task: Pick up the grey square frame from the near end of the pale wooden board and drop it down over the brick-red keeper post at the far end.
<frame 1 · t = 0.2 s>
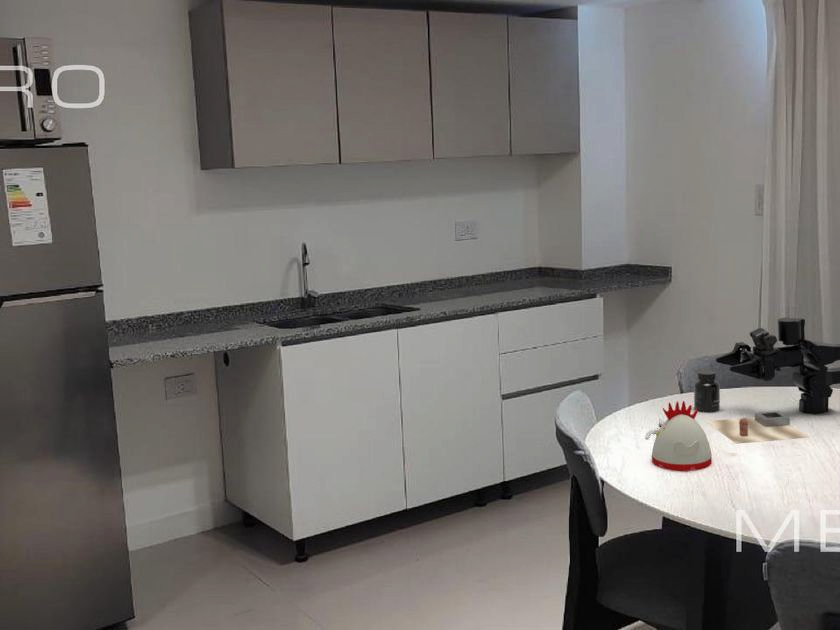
hand: (723, 364, 254), 16 cm above the table, tool horizontal, fingers open, 9 cm apart
grey square frame: (772, 422, 250), point 1 cm above the table, touching keeper board
kitchen timer: (681, 462, 230), on the table
keeper board: (756, 434, 246), on the table
pliers: (665, 433, 254), on the table
supplement bottle: (707, 415, 267), on the table
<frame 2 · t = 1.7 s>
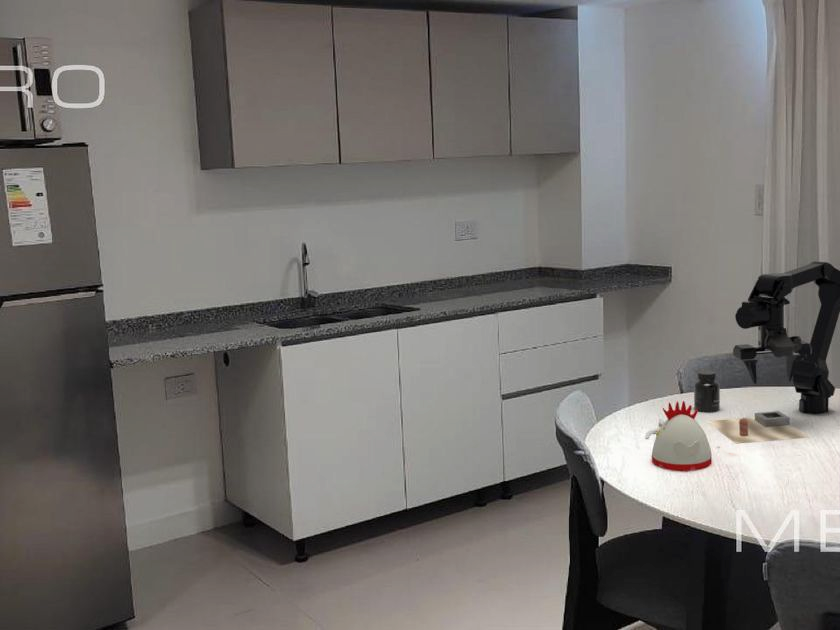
hand: (772, 382, 248), 12 cm above the table, tool pointing down, fingers open, 9 cm apart
nothing on the table moved.
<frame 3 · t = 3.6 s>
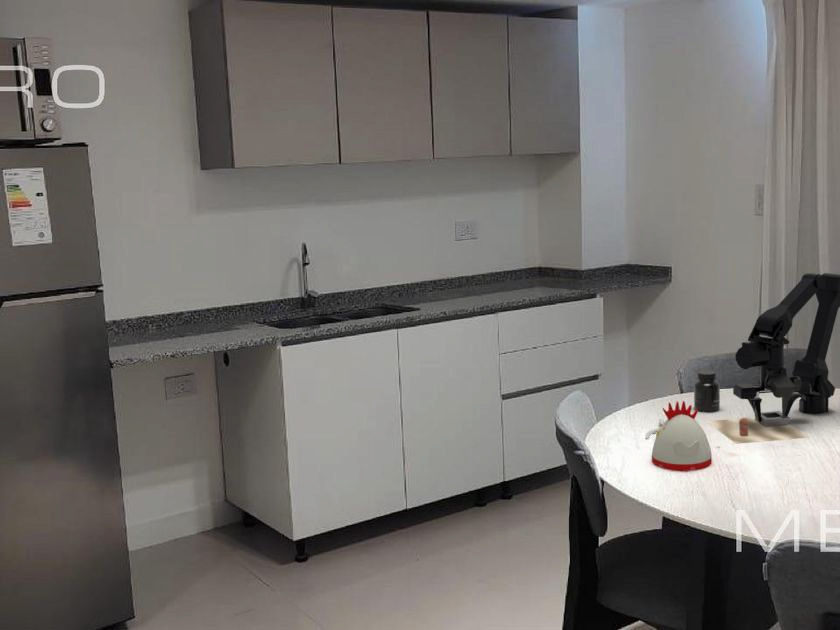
hand: (771, 420, 250), 2 cm above the table, tool pointing down, fingers closed on grey square frame, 6 cm apart
grey square frame: (772, 422, 250), point 2 cm above the table, touching gripper, keeper board
everything else where it was.
when the fingers open (4 cm above the table, at t = 8.0 s): grey square frame drops 2 cm, resting on keeper board.
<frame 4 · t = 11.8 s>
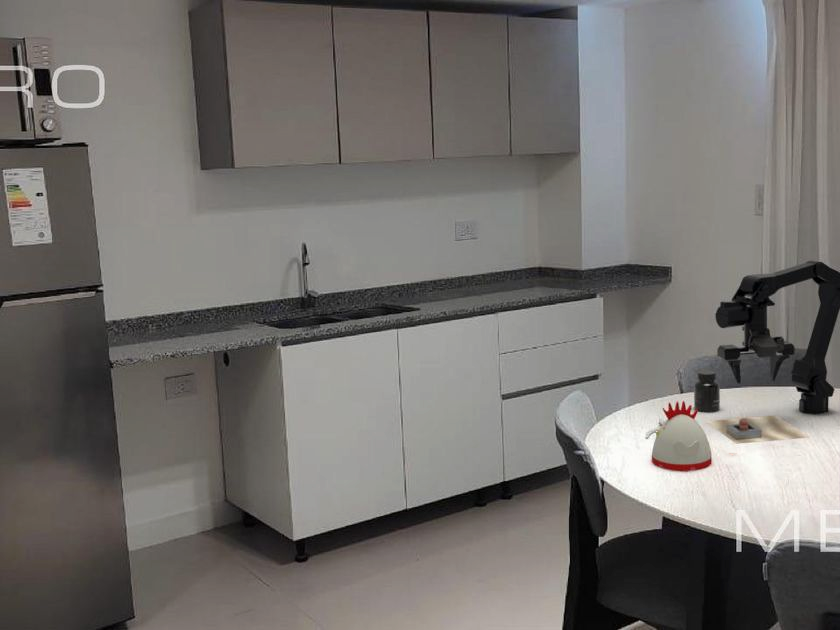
hand: (755, 382, 251), 12 cm above the table, tool pointing down, fingers open, 9 cm apart
grey square frame: (743, 434, 242), point 1 cm above the table, touching keeper board
everything else where it was.
at the end: grey square frame 0.0 cm from the target spot on the keeper board, point 1.5 cm above the keeper board's base; grey square frame tilted 0°; the gripper is holding nothing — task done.
